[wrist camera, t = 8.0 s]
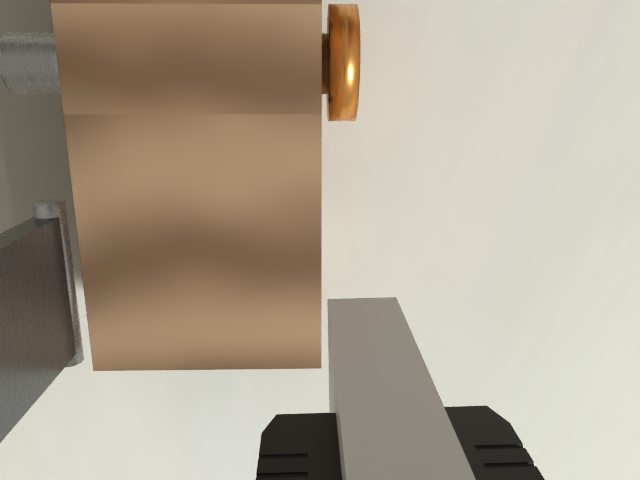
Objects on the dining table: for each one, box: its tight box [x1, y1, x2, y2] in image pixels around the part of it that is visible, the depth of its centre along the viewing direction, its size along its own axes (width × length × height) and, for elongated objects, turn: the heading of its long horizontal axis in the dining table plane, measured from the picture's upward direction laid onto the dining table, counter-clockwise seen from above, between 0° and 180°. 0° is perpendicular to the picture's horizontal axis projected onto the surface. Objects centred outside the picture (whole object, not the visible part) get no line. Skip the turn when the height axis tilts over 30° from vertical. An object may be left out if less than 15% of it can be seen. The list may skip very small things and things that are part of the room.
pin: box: [0, 4, 360, 121], centre depth 25 cm, size 15×5×5 cm, turn 90°
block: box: [50, 0, 322, 371], centre depth 26 cm, size 18×10×8 cm, turn 0°
